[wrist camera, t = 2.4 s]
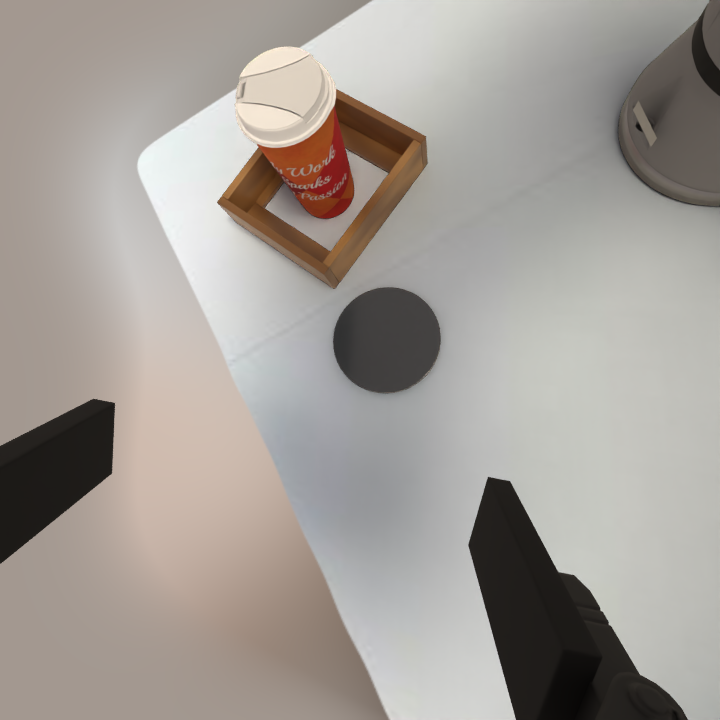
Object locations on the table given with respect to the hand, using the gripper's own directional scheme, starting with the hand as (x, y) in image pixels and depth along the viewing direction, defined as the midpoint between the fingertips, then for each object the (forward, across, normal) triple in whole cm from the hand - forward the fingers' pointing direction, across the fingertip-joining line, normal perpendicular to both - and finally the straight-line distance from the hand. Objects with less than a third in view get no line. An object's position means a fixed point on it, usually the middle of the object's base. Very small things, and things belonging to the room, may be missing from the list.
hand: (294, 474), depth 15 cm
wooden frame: (+34, -5, +12) cm, 36 cm away
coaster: (+26, +3, 0) cm, 27 cm away
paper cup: (+34, -5, +12) cm, 36 cm away
